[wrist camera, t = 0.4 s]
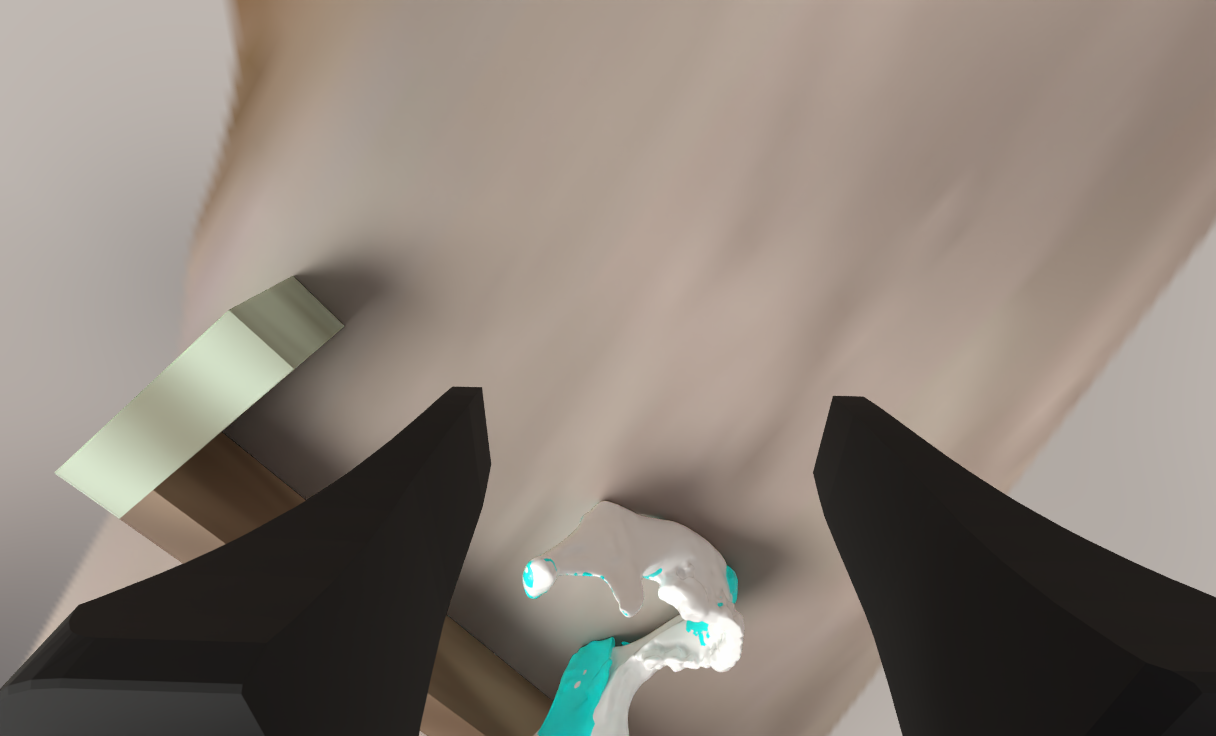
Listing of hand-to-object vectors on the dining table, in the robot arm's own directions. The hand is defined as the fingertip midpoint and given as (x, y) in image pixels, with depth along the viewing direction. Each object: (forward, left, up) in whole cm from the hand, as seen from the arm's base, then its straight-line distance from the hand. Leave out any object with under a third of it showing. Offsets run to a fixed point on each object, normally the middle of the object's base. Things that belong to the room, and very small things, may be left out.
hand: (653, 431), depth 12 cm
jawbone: (-8, -12, -11) cm, 18 cm away
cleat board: (-14, -6, -10) cm, 19 cm away
